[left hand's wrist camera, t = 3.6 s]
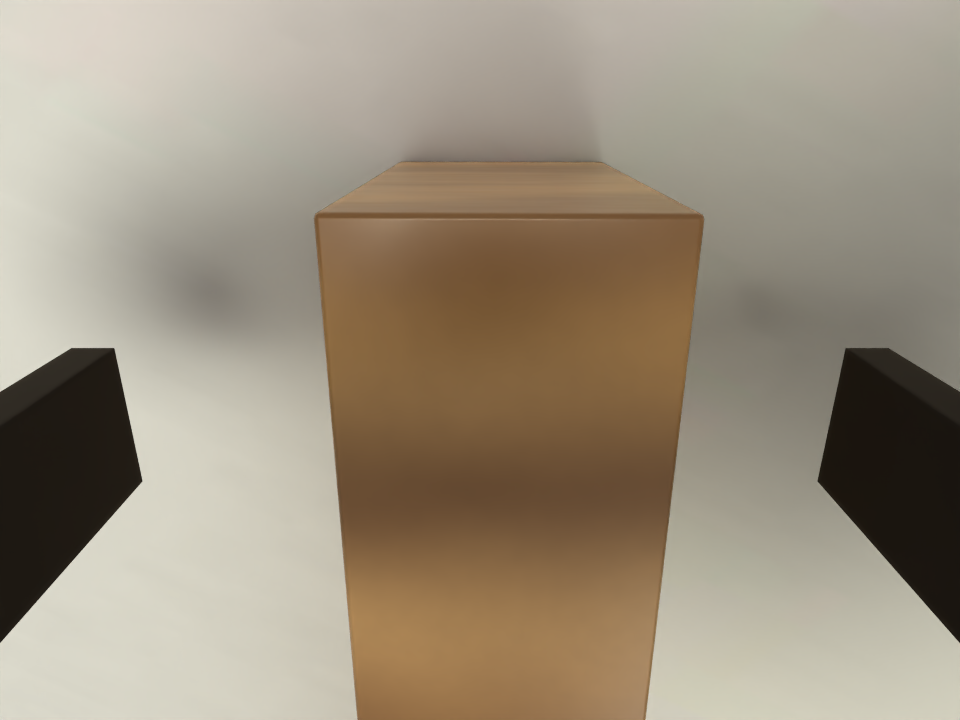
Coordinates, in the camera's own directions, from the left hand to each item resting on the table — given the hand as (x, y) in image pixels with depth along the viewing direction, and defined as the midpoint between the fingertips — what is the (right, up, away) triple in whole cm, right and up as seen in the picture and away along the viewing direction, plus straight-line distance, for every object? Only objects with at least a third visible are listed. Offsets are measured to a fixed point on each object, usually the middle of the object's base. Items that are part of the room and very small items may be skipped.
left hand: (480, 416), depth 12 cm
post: (0, -28, +17) cm, 32 cm away
